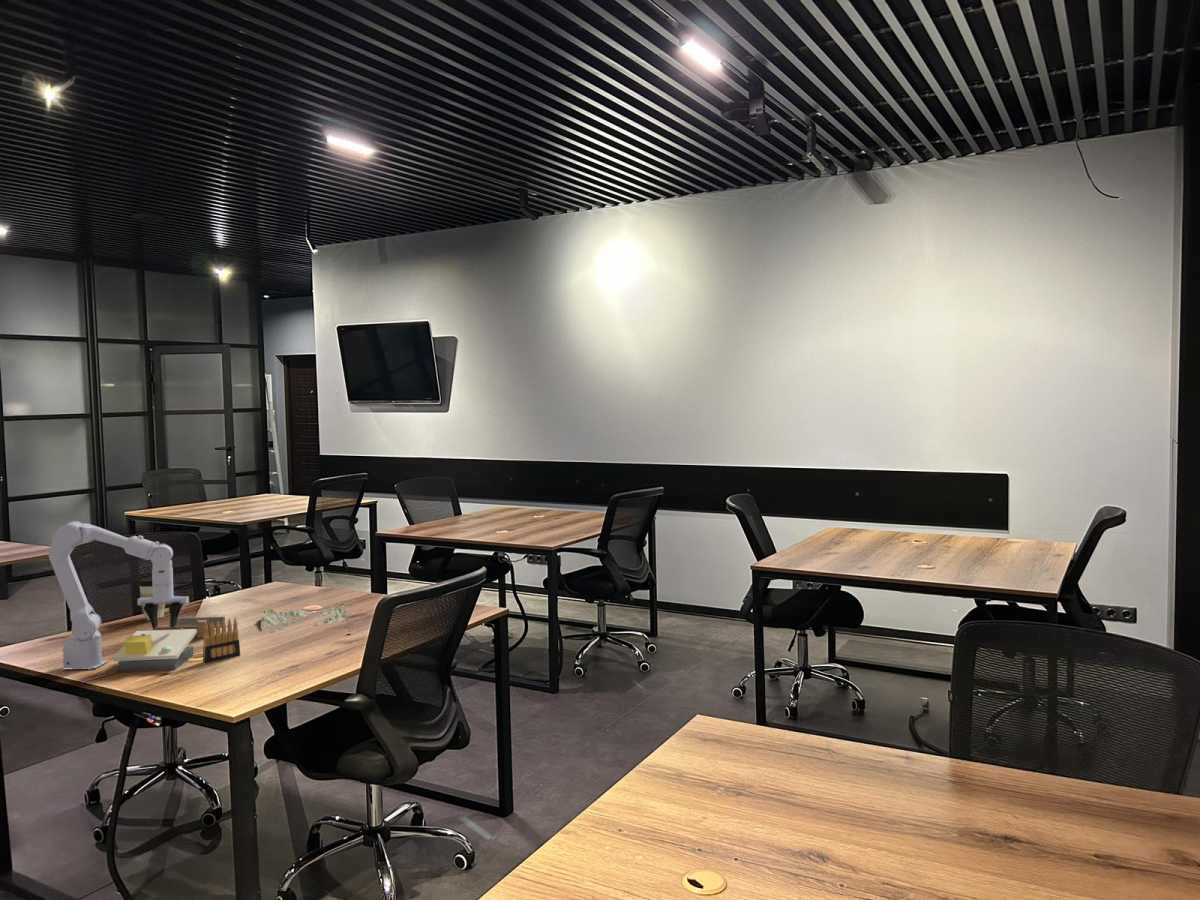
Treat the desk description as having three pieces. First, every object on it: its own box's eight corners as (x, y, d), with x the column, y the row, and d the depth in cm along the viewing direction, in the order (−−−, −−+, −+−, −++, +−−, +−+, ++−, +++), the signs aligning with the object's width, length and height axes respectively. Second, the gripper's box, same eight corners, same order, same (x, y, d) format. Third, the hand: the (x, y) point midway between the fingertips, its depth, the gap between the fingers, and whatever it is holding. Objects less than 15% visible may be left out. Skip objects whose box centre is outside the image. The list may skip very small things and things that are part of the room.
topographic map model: (351, 636, 284) (350, 622, 284) (258, 645, 274) (258, 630, 273) (344, 613, 317) (344, 601, 317) (262, 621, 307) (261, 607, 307)
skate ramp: (244, 624, 302) (243, 603, 302) (205, 651, 267) (204, 628, 267) (162, 626, 300) (161, 605, 300) (111, 653, 265) (110, 630, 265)
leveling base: (118, 671, 244) (118, 655, 244) (140, 658, 258) (139, 642, 258) (175, 669, 246) (174, 653, 246) (193, 656, 260) (192, 640, 260)
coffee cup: (174, 615, 314) (173, 576, 314) (158, 621, 304) (156, 581, 304) (150, 615, 315) (149, 576, 315) (133, 621, 306) (131, 581, 305)
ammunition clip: (205, 663, 252) (204, 624, 252) (202, 662, 254) (201, 623, 253) (240, 655, 260) (239, 618, 260) (238, 654, 261) (237, 617, 261)
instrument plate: (113, 661, 243) (110, 645, 242) (137, 634, 259) (134, 619, 257) (177, 658, 245) (175, 643, 244) (196, 632, 260) (194, 617, 259)
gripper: (192, 580, 262) (193, 622, 262) (144, 581, 260) (145, 624, 261) (183, 585, 255) (184, 628, 255) (133, 586, 253) (135, 630, 254)
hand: (164, 626), depth 257 cm, fingers open, 5 cm apart
